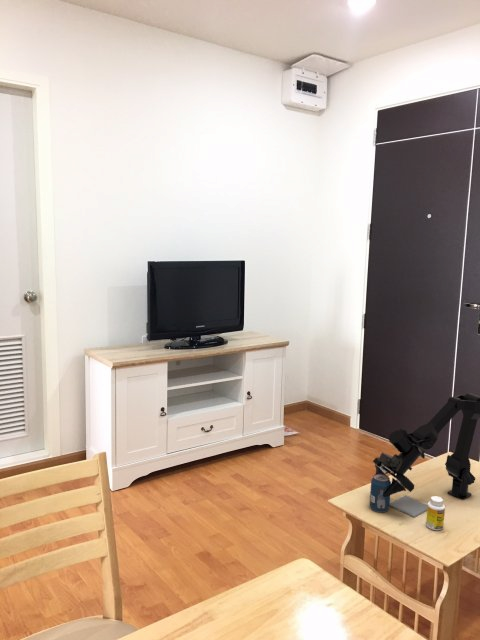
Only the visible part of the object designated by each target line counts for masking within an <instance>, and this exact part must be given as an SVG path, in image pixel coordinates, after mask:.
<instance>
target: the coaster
mask: <svg viewBox="0 0 480 640" xmlns="http://www.w3.org/2000/svg"><path fill="white" fill-rule="evenodd" d="M389 507H391V508H393V509H396V510H397V511H399V512H401V513H403V514H405V515H406V516H407V515H408V516H409V517H411V518H413V519H416V518H417V517H419V516H420V515H423V514H425V513H427V507H428V504H426V503H424V502H422V501H420V500H417V499H415V498H413V497H411V496H408V495H407V494H406V495H403V496H401V497H399V498H397V499H394V500H393V501H390V505H389Z"/></svg>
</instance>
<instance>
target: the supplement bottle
mask: <svg viewBox="0 0 480 640" xmlns="http://www.w3.org/2000/svg"><path fill="white" fill-rule="evenodd" d="M427 505H428V507H427V511H426V521H425V525H426V527H427V528H428V529H430V530H433V531H441V530H442V529H444V524H445V523H444V521H445V514H446V512H445V511H446V505H445V504H444V499H443V498H442V497H441V496H437V495H434V496H433V495H432V496H431V497H430V501H428V503H427Z"/></svg>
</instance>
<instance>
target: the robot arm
mask: <svg viewBox="0 0 480 640" xmlns="http://www.w3.org/2000/svg"><path fill="white" fill-rule="evenodd" d="M459 411H461V412H462V419H461V425H460V429H459V433H458V435H457V436H458V437H457V439H456V440H457V441H456V445H455V449H454V452H453V453H452V454H451V455H449V454H448V455H447V456H446V461H445V463H444V465H445V470H446V471H447V474H448V476H449V477H451V478H452V483H451V490H448V491H447V494H448V495H450V496H454V497H456V498H458V499H460V500H466V499H467V498H469V497H471V496H472V493H471V492H469V486H471V485H472V484H474V483H475V481H476V477H475V476H474V475H473V474H472V473H471V468H472V467H471V465H472V464H471V462H470V461H471V460H470V457H469V455H470V450H471V447H472V443H473V440H474V436H475V430H476V426H477V423H478V420H479V419H480V395H476V394H474V393H471V392H468V393H465V394H457V396H450V397H449V398H448V399H447V402H446V403H445V404H444V405H443V406H442V407H441V408H440V409H439V410H438V412H437V413H436V414H435V415H434V416H433V417H432V418H431V419H430V420H429V421H428V422H427V423H425V424H422V425H420V426H419V427H418V428H417V429H415V430H414V431H413V432H409V433H408V432H407V431H406V429H404V428H402V427H401V428H400V429H398V430H395V431H393V432H391V433H390V434H389V436H388V441H389V443H390V444H391V445H392V446H393V447H394V448H395V449H396V450H397V451H398V452H399V454H397V453H395V454H393V456H392V455H391V454H387V453H385V452H382V451H381V453H380V456H379V457H378V456H377V457H375V458H374V459H372V463H373V464H374V467H375V474H384V475H387V474H389V475H391V477H392V478H391V485H390V486H389V487H388V488H387V490H386V491H385V492H384V494H383V497H387V496H390V497H391V496H392V495H395V494H398V493H400V492H403V491H404V492H406V491H408V492H410V493H412V492H413V490H414V489H415V484H414V483H413V482H412V481H411V479H410V478H408V477H407V476H406V475H405V474H406V473H407V471H408V470H409V471H412V469H413V467H412V465H414V463H416V461H418V459H419V458H422V459H425V450H431V449H432V448H433V447H434V445H435V443H436V442H437V441H438V439H439V433H440V432H441V431H442V430H443V429H444V428H445V426H446V425H448V423H449V422H450V421H451V420H452V419H453V418H454V417H455V416H456V414H457V413H458V412H459ZM421 448H422V449H421Z"/></svg>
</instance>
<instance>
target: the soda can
mask: <svg viewBox="0 0 480 640" xmlns="http://www.w3.org/2000/svg"><path fill="white" fill-rule="evenodd" d="M391 483H392V481H391V478H390V476H388V475H387V474H386V475H384V474H376V473H375V474H373V476H372V478H371V479H370V496H369V506H370V508H371V510H373V511H374V512H378V513H386V512H388V510H389V509H390V506H389V505H390V502H391V495H390V496H387V497H383V494H384V492H385V491H386V490H387V488H388V487H389V486H390V485H391Z"/></svg>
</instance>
